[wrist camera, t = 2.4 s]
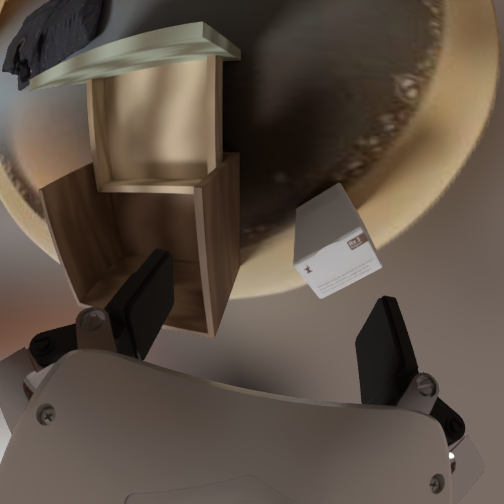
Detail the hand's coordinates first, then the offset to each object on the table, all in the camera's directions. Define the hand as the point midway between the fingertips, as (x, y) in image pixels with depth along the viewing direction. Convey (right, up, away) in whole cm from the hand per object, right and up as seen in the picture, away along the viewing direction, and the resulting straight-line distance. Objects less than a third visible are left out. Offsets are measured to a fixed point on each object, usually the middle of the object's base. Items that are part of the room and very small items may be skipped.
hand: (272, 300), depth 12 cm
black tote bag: (-30, +35, +9) cm, 47 cm away
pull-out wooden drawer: (-11, +17, +15) cm, 25 cm away
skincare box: (+8, +7, +18) cm, 21 cm away
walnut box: (-11, +7, +21) cm, 25 cm away
